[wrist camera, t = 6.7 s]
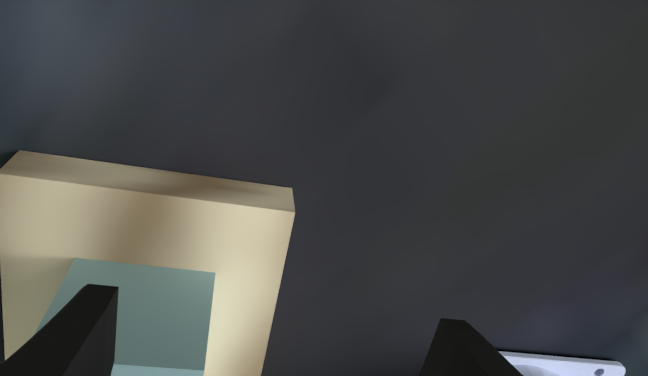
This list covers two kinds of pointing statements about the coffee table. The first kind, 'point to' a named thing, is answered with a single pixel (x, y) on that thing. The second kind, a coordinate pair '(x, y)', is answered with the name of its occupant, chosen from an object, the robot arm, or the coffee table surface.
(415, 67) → the coffee table surface
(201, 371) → the teal cube
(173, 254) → the maple base
